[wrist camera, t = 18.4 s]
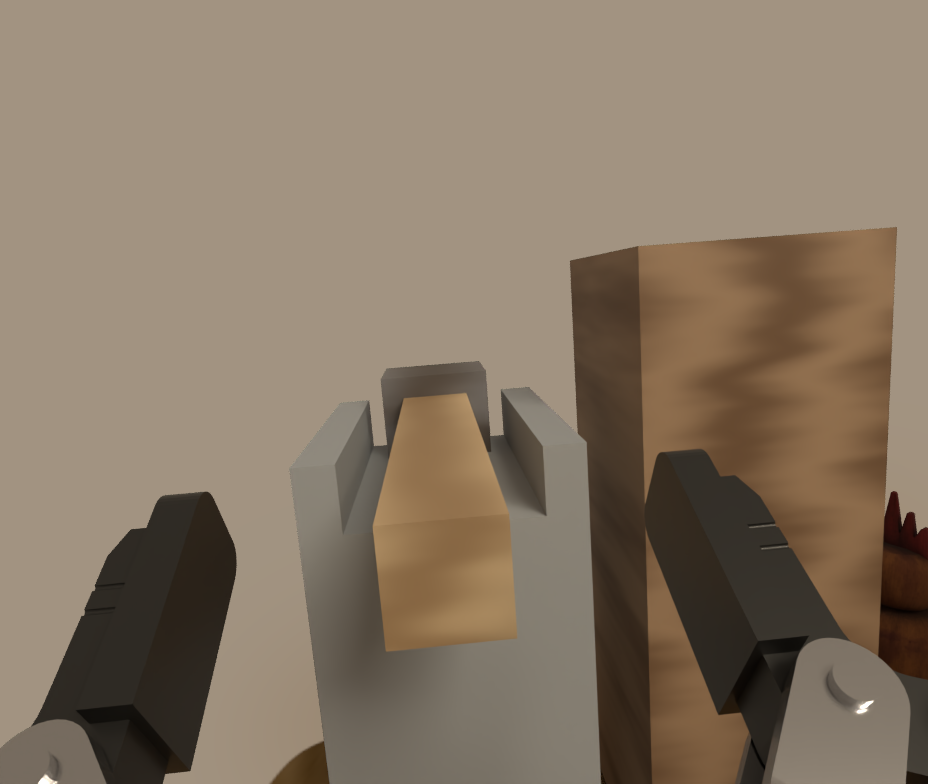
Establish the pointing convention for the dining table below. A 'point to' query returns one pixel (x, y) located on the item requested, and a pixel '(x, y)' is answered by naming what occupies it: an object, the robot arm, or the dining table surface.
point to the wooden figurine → (904, 594)
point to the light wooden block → (441, 513)
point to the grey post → (464, 665)
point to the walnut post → (727, 453)
